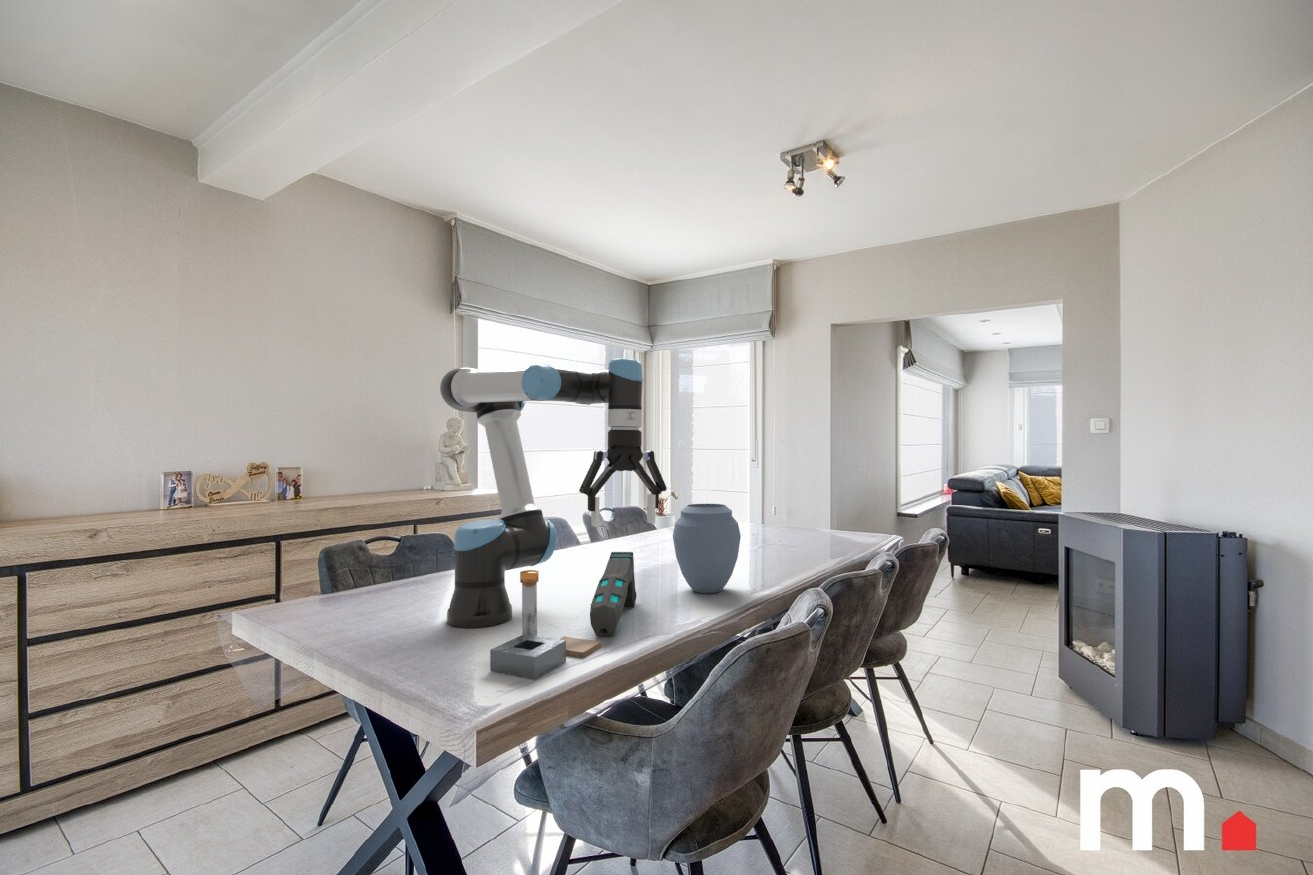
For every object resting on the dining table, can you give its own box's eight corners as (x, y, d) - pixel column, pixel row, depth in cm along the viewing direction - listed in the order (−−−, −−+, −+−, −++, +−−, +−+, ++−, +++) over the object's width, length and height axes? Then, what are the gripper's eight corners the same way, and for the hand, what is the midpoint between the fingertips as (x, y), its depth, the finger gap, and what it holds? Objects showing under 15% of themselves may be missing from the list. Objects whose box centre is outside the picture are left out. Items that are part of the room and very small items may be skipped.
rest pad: (545, 651, 120) (545, 646, 120) (564, 641, 127) (564, 636, 127) (583, 657, 117) (583, 652, 117) (601, 646, 123) (601, 641, 123)
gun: (638, 595, 159) (634, 544, 155) (621, 668, 131) (617, 609, 127) (614, 595, 160) (610, 544, 155) (592, 667, 132) (587, 608, 127)
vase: (744, 584, 178) (743, 502, 178) (738, 600, 159) (737, 509, 159) (680, 581, 182) (679, 501, 183) (666, 597, 163) (665, 508, 164)
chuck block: (490, 671, 110) (490, 649, 110) (523, 654, 119) (523, 634, 119) (535, 679, 106) (535, 657, 106) (566, 661, 115) (566, 640, 115)
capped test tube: (516, 644, 125) (516, 572, 125) (527, 639, 128) (527, 569, 128) (531, 647, 123) (531, 574, 123) (542, 641, 126) (542, 570, 127)
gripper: (577, 427, 123) (576, 530, 123) (681, 429, 135) (680, 523, 135) (565, 428, 130) (564, 525, 130) (666, 430, 141) (665, 519, 141)
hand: (623, 524), depth 132 cm, fingers open, 13 cm apart
